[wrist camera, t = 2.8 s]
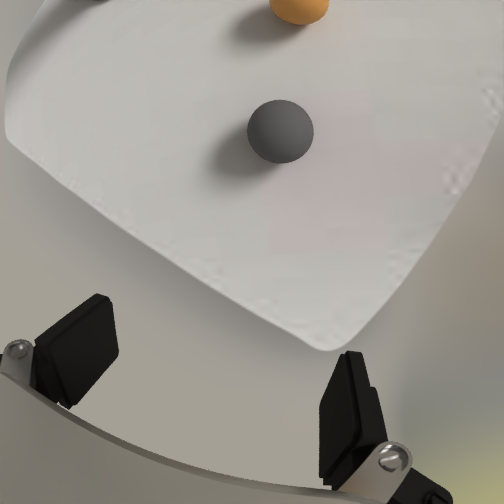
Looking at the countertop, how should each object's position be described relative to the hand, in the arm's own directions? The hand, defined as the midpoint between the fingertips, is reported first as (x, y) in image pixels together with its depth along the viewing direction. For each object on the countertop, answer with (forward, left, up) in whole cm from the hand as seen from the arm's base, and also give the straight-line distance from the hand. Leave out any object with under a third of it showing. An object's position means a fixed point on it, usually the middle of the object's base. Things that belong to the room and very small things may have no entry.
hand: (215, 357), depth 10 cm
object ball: (+8, +22, -16) cm, 29 cm away
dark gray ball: (+3, +9, -16) cm, 19 cm away
